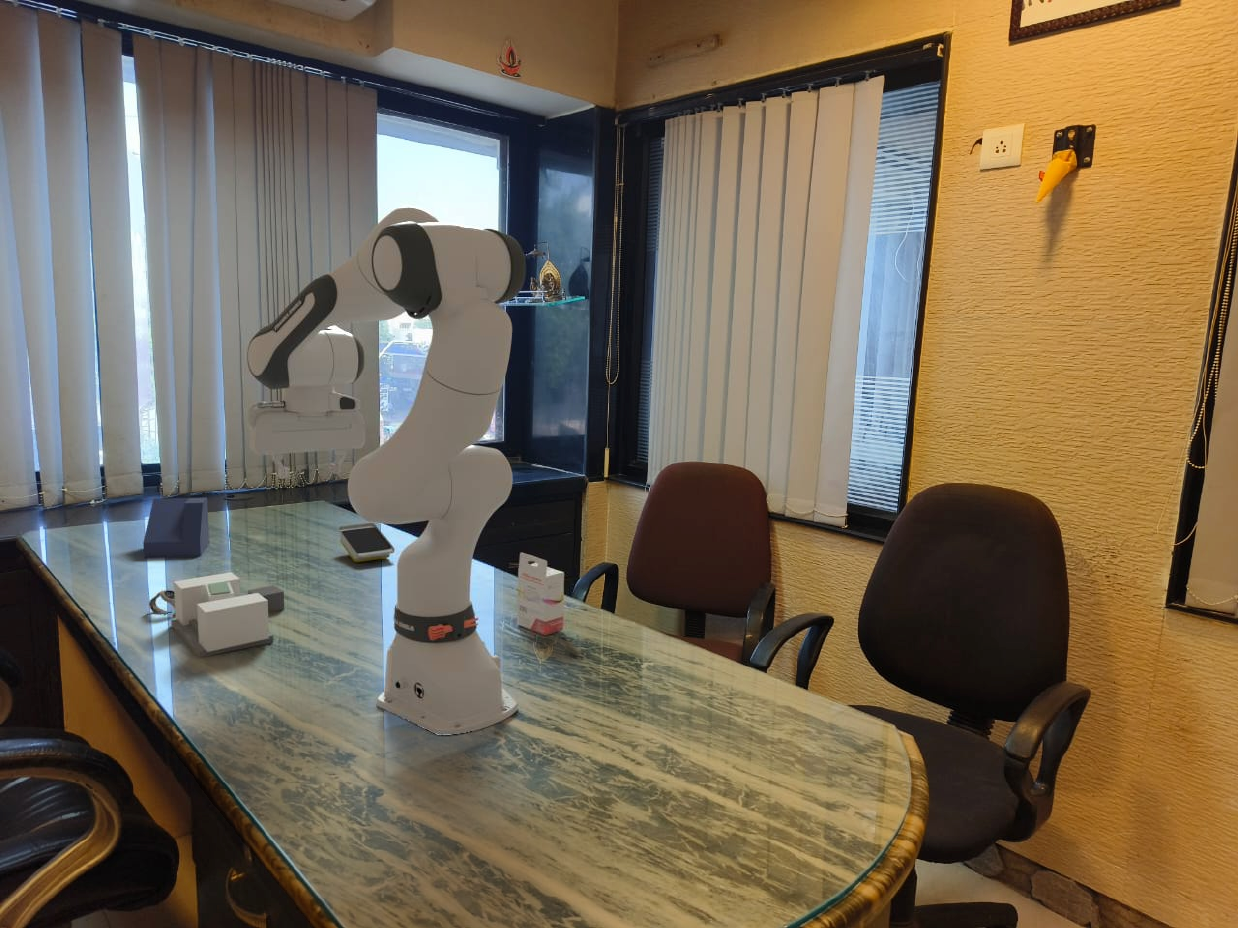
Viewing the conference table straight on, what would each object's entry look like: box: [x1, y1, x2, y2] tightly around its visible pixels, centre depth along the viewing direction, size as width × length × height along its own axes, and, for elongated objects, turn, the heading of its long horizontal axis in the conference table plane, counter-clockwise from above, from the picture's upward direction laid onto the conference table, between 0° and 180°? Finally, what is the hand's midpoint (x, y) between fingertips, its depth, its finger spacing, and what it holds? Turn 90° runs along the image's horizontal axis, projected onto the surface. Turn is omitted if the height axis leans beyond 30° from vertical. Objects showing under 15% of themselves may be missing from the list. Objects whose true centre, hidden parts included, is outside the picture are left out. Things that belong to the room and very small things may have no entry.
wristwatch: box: [148, 589, 176, 617], centre depth 152 cm, size 4×6×5 cm, turn 78°
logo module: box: [205, 582, 234, 602], centre depth 143 cm, size 7×4×7 cm, turn 32°
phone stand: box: [143, 497, 210, 559], centre depth 193 cm, size 12×12×12 cm
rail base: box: [170, 572, 274, 658], centre depth 143 cm, size 20×12×8 cm, turn 43°
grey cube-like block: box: [247, 584, 285, 614], centre depth 157 cm, size 5×5×4 cm
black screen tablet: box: [338, 522, 395, 563], centre depth 196 cm, size 9×4×15 cm
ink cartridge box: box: [516, 552, 565, 636], centre depth 153 cm, size 9×5×15 cm, turn 47°
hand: (310, 475), depth 145 cm, fingers open, 8 cm apart
